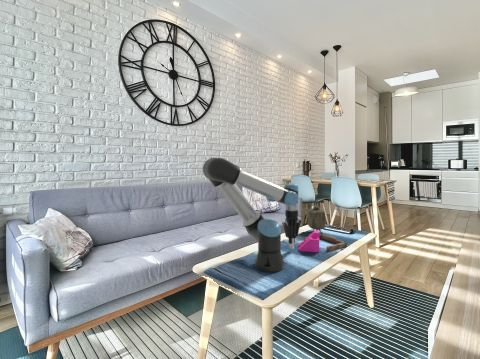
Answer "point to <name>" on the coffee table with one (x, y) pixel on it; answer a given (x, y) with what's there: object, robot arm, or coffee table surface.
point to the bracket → (310, 243)
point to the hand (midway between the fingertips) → (291, 248)
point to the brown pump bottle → (316, 218)
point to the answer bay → (337, 245)
